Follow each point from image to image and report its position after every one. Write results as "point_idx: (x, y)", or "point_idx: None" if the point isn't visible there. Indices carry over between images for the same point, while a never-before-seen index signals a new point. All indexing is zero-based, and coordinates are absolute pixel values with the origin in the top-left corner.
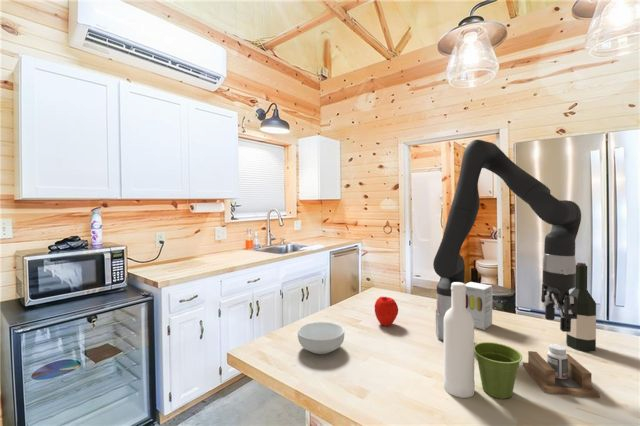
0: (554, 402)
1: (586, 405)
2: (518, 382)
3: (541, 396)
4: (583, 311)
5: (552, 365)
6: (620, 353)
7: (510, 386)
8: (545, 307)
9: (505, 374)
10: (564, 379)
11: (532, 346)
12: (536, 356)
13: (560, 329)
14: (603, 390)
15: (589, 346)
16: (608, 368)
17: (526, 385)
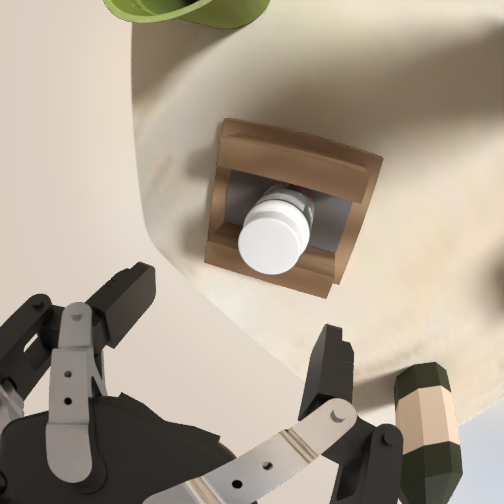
0: (187, 117)
1: (180, 186)
2: (280, 74)
3: (210, 99)
4: (410, 462)
5: (269, 193)
6: (370, 412)
7: (175, 6)
8: (335, 391)
9: None
10: None
11: (470, 284)
12: (322, 173)
13: (149, 265)
14: (241, 275)
15: (397, 389)
16: None
17: (263, 88)
